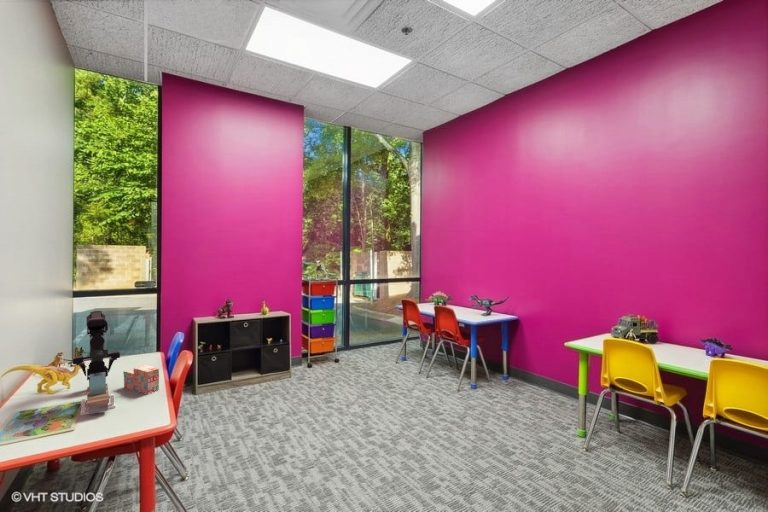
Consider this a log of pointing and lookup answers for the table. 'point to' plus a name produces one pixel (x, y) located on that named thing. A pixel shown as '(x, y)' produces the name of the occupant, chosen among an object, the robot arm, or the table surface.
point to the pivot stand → (86, 411)
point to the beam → (97, 401)
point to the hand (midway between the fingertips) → (97, 374)
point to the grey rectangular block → (97, 383)
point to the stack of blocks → (142, 379)
